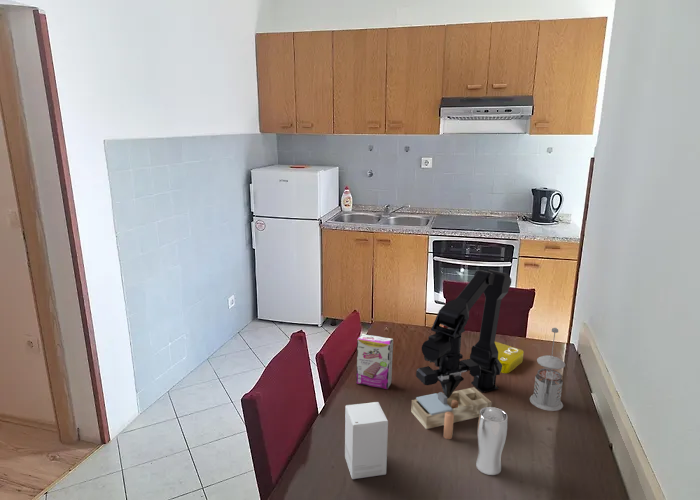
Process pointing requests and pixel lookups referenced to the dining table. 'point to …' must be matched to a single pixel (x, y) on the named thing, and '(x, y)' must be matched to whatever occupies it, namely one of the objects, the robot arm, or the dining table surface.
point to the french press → (548, 383)
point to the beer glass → (491, 439)
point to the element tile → (509, 357)
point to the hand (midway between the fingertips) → (447, 397)
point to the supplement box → (366, 440)
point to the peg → (448, 425)
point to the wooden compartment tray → (453, 408)
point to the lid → (434, 403)
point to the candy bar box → (374, 361)
